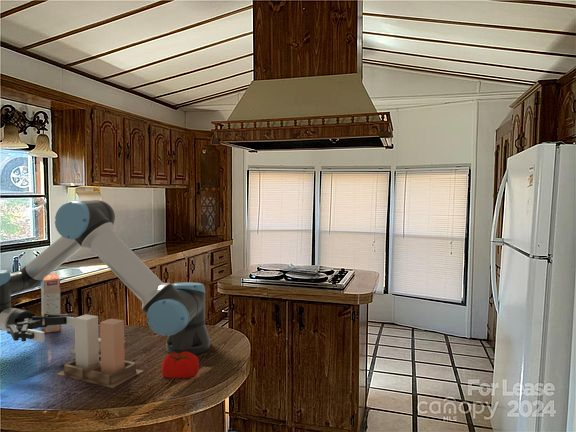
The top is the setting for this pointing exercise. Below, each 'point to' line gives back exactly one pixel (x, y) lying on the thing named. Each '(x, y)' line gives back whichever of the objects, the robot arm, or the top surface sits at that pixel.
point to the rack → (100, 373)
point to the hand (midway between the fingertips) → (63, 329)
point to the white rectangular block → (86, 340)
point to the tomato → (180, 365)
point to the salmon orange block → (112, 345)
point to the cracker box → (51, 299)
